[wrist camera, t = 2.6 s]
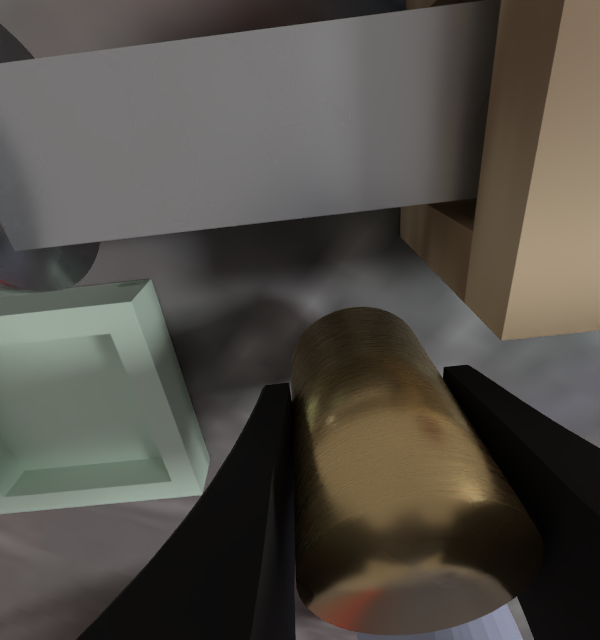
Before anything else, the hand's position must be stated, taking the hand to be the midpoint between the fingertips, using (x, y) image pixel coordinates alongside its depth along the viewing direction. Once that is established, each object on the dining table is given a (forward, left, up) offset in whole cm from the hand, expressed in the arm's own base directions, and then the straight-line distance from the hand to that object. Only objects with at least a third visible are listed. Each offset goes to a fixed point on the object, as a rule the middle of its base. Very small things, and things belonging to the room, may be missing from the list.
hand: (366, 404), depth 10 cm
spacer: (0, 0, -2) cm, 2 cm away
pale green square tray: (-2, +11, -4) cm, 12 cm away
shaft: (+7, +1, -4) cm, 8 cm away
